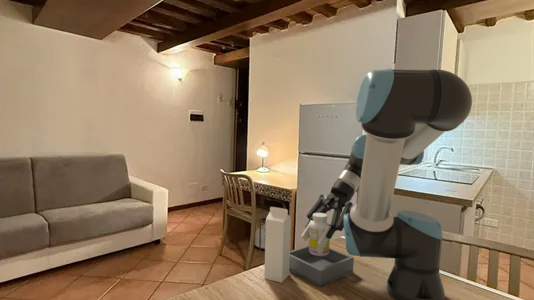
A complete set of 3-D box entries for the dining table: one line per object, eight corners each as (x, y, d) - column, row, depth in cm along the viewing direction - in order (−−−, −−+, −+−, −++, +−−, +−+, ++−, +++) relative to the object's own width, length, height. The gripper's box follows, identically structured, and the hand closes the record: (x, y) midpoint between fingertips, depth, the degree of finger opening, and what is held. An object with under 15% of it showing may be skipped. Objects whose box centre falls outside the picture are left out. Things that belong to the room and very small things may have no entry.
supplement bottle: (328, 249, 111) (329, 212, 109) (329, 257, 104) (331, 218, 103) (308, 248, 111) (309, 211, 110) (308, 256, 105) (310, 217, 103)
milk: (272, 270, 106) (274, 204, 104) (289, 275, 104) (291, 207, 102) (264, 278, 101) (265, 208, 99) (282, 283, 98) (283, 211, 96)
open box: (353, 272, 106) (353, 257, 106) (319, 287, 96) (320, 270, 96) (316, 255, 119) (317, 242, 118) (283, 267, 109) (284, 252, 108)
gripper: (374, 198, 108) (340, 258, 99) (328, 188, 123) (296, 239, 114) (365, 184, 104) (330, 245, 95) (319, 175, 119) (285, 227, 111)
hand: (311, 241), depth 105 cm, fingers closed on supplement bottle, 7 cm apart
